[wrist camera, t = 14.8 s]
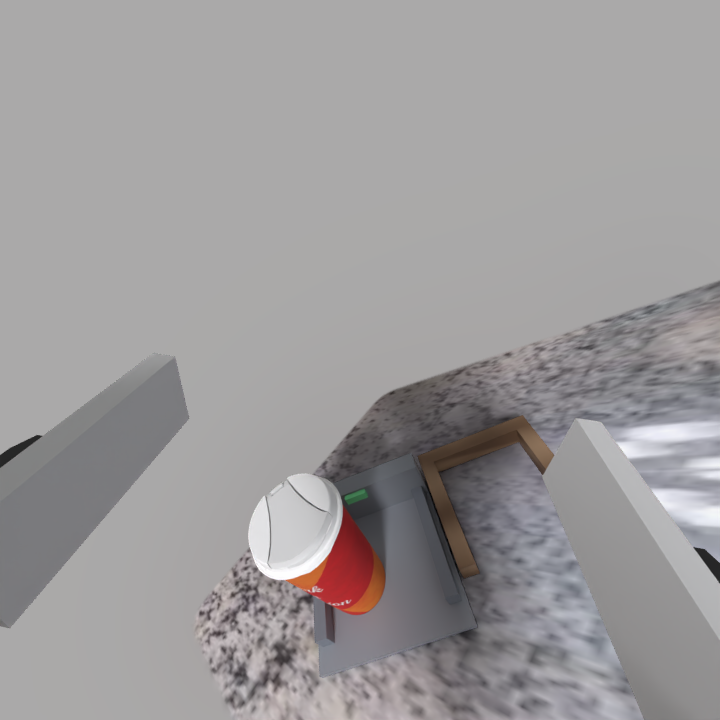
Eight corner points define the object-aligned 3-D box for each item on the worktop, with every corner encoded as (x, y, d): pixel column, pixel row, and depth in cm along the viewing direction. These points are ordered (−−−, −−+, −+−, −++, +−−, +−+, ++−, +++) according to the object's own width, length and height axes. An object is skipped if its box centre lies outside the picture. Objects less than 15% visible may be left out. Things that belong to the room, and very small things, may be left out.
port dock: (316, 521, 43) (293, 498, 39) (424, 480, 41) (410, 452, 38) (322, 677, 30) (290, 663, 27) (478, 627, 29) (464, 605, 26)
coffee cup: (312, 575, 37) (232, 512, 29) (369, 524, 39) (310, 450, 31) (347, 654, 31) (257, 603, 22) (413, 588, 32) (354, 517, 24)
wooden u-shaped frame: (422, 466, 43) (417, 455, 41) (524, 427, 41) (522, 415, 40) (464, 578, 32) (458, 569, 31) (603, 530, 31) (604, 518, 29)
